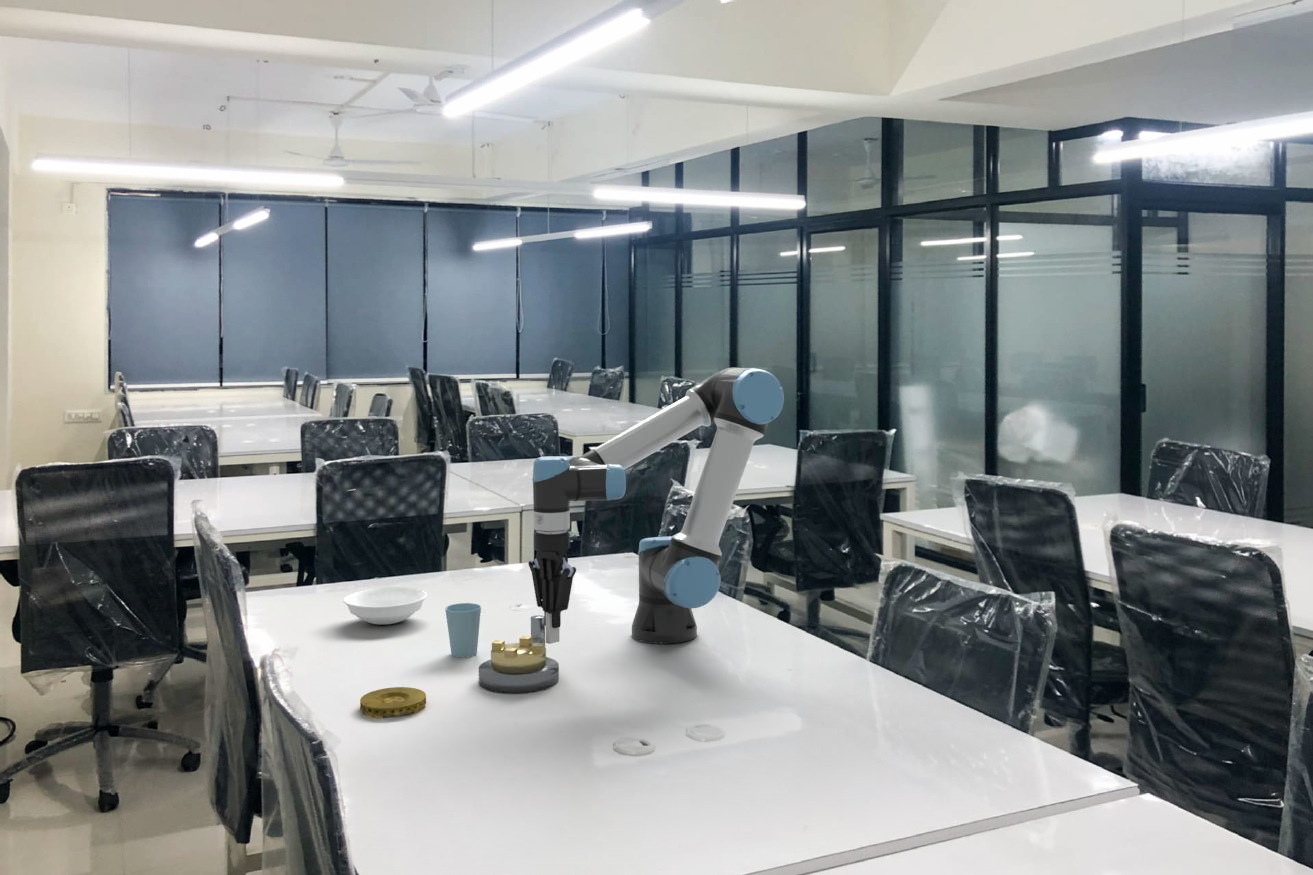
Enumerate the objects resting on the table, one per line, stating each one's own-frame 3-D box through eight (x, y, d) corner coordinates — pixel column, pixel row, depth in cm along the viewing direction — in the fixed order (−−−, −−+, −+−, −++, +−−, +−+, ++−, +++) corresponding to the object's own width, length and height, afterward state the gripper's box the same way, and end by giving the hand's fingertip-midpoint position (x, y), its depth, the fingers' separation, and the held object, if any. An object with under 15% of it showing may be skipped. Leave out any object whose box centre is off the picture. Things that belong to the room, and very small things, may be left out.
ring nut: (536, 686, 211) (535, 641, 210) (483, 682, 213) (482, 638, 212) (565, 658, 229) (564, 616, 228) (516, 655, 232) (515, 613, 231)
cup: (486, 656, 234) (485, 609, 233) (451, 660, 231) (449, 613, 230) (477, 647, 241) (476, 601, 240) (443, 651, 238) (441, 605, 237)
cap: (551, 665, 227) (551, 650, 227) (565, 689, 212) (565, 672, 211) (475, 672, 223) (474, 656, 223) (483, 697, 208) (482, 679, 207)
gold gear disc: (356, 703, 206) (356, 692, 205) (419, 694, 210) (419, 683, 210) (365, 723, 195) (365, 711, 194) (431, 714, 199) (431, 702, 199)
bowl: (390, 607, 277) (390, 583, 276) (444, 619, 265) (444, 594, 264) (326, 624, 261) (325, 599, 260) (380, 637, 249) (380, 610, 248)
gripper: (518, 529, 226) (519, 639, 228) (557, 536, 218) (558, 651, 219) (545, 525, 232) (546, 633, 234) (585, 532, 223) (586, 644, 225)
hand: (552, 641), depth 227 cm, fingers closed
